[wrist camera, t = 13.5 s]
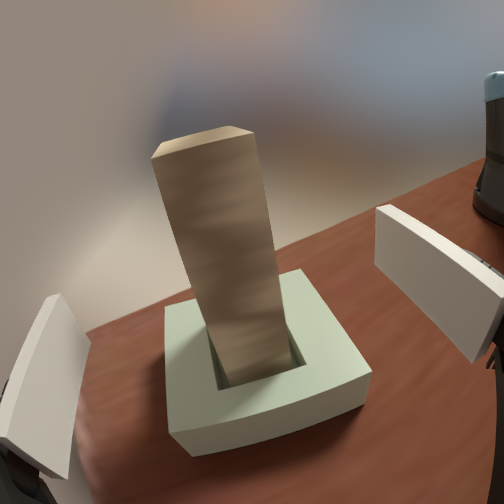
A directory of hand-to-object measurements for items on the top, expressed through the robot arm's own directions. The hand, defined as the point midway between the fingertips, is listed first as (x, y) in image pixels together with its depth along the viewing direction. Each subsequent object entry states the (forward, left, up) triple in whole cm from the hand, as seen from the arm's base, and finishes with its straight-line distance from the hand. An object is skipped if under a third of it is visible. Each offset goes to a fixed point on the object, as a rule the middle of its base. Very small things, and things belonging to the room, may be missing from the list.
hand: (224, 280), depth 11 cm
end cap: (0, -5, -12) cm, 13 cm away
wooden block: (0, -5, -11) cm, 12 cm away
